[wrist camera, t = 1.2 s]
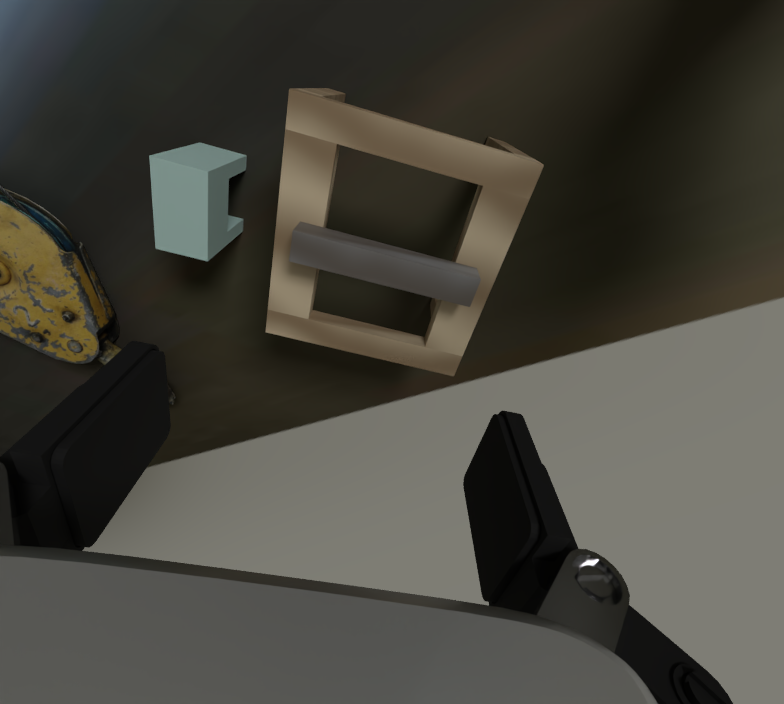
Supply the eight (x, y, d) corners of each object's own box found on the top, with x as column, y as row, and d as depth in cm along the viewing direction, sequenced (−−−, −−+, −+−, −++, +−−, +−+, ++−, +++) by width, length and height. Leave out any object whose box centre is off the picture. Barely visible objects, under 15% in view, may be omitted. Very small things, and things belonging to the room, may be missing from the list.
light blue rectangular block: (199, 142, 35) (149, 155, 28) (246, 155, 35) (208, 171, 28) (200, 220, 38) (155, 248, 32) (242, 231, 39) (207, 261, 32)
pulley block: (111, 451, 47) (-187, 227, 34) (134, 420, 52) (-117, 215, 39) (204, 393, 45) (-77, 126, 31) (219, 366, 50) (-18, 127, 36)
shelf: (327, 88, 32) (279, 88, 20) (504, 141, 34) (554, 170, 22) (301, 271, 41) (257, 346, 29) (443, 307, 42) (456, 392, 31)
